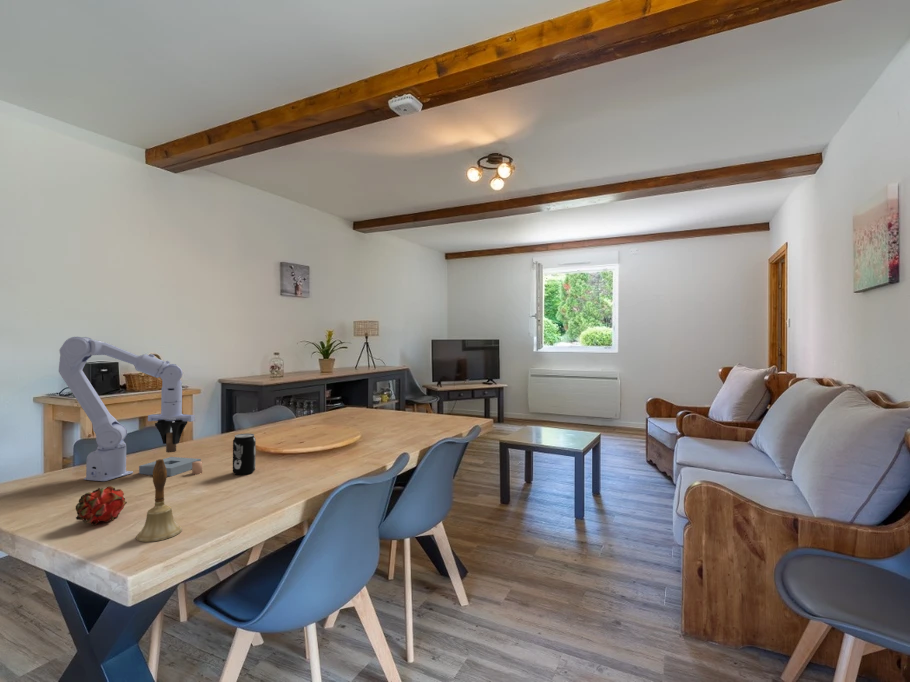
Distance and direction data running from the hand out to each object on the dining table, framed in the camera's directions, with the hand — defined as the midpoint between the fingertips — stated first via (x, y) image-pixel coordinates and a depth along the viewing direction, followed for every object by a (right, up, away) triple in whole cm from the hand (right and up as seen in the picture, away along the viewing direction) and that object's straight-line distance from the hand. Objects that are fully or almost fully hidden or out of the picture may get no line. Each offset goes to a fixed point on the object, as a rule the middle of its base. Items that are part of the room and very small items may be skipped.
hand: (171, 443), depth 147 cm
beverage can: (+25, -9, -3) cm, 27 cm away
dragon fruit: (+11, -9, -43) cm, 45 cm away
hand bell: (+29, -9, -50) cm, 58 cm away
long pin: (0, -3, 0) cm, 3 cm away
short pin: (+10, -9, -3) cm, 14 cm away
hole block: (0, -9, 0) cm, 9 cm away
